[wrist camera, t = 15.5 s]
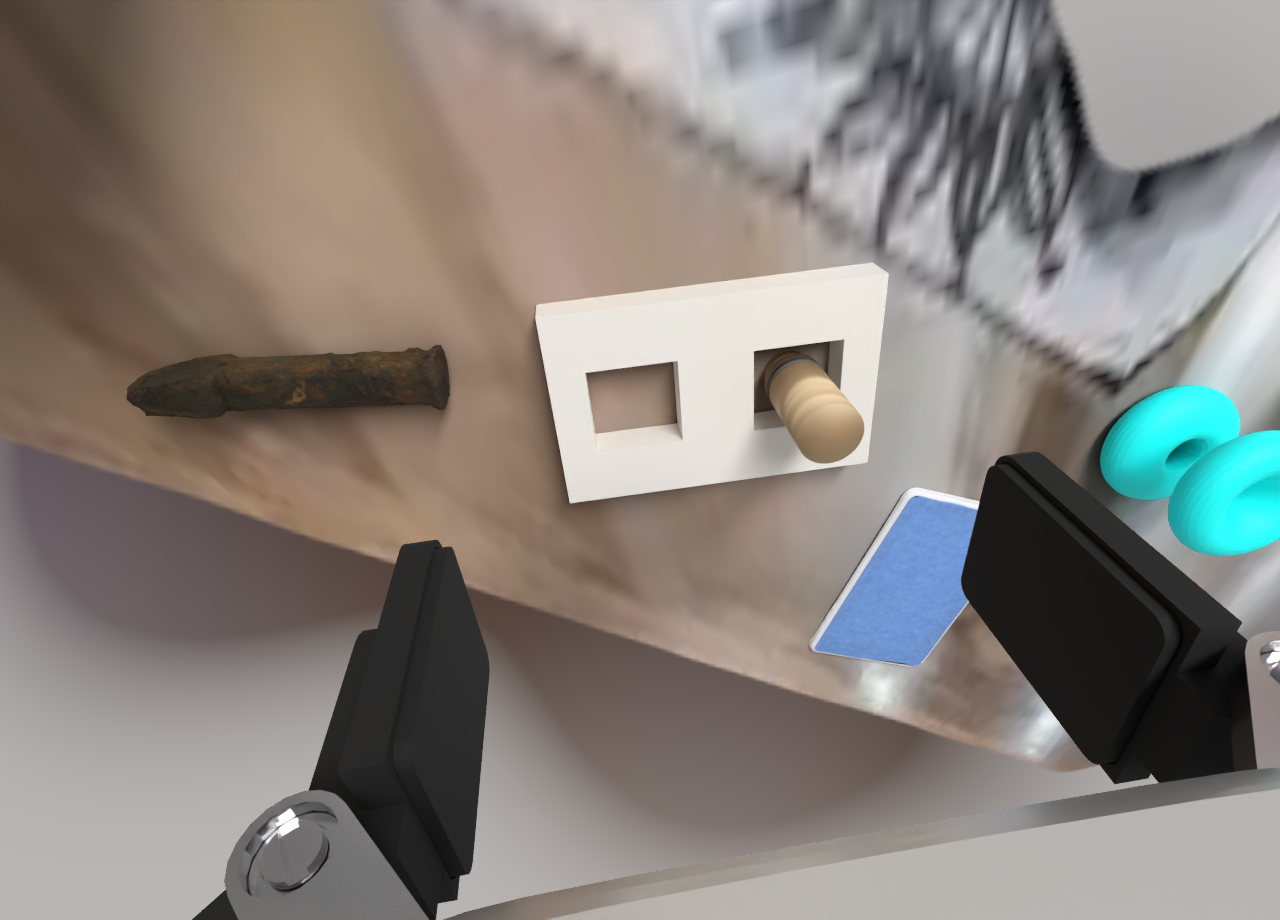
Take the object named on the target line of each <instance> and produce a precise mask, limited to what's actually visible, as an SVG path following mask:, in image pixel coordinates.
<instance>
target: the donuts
mask: <svg viewBox="0 0 1280 920" xmlns="http://www.w3.org/2000/svg"><path fill="white" fill-rule="evenodd" d="M1239 431H1240V419H1239V414H1238V411H1237V409H1236V407H1235V405H1234V404H1233V402H1232V401H1231V400H1230V399H1229V398H1228V397H1227V396H1226V395H1224V394H1223V393H1221V392H1219V391H1217V390H1215V389H1213V388H1209V387H1205V386H1199V385H1185V386H1177V387H1172V388H1169V389H1165V390H1163V391H1160V392H1157V393H1155V394H1153V395H1151V396H1149V397H1147V398H1145V399H1143V400H1142V401H1140V402H1139V403H1137V404H1136V405H1134V406H1133V407H1132V408H1130V409H1129V410H1128V411H1127V412H1126V413H1125V414H1124V415H1123V416H1122V417H1121V418H1120V419H1119V420H1118V421H1117V422H1116V423H1115V425H1114V426H1113V427H1112V429H1111V430H1110V432H1109V433H1108V435H1107V437H1106V439H1105V441H1104V444H1103V447H1102V450H1101V455H1100V466H1101V471H1102V474H1103V477H1104V478H1105V480H1106V481H1107V483H1108V484H1109V485H1110V486H1111V487H1112V488H1113V489H1114V490H1115V491H1117V492H1118V493H1120V494H1122V495H1124V496H1127V497H1130V498H1134V499H1140V500H1158V499H1164V498H1169V497H1171V498H1170V501H1169V505H1168V520H1169V524H1170V527H1171V530H1172V532H1173V533H1174V535H1175V536H1176V537H1177V539H1178V540H1179V541H1180V542H1181V543H1183V544H1184V545H1185V546H1187V547H1188V548H1190V549H1192V550H1194V551H1196V552H1199V553H1202V554H1207V555H1213V556H1229V555H1238V554H1243V553H1247V552H1251V551H1254V550H1257V549H1259V548H1262V547H1264V546H1267V545H1269V544H1271V543H1273V542H1275V541H1277V540H1279V539H1280V430H1269V431H1261V432H1254V433H1250V434H1246V435H1243V436H1240V437H1238V436H1239ZM1178 445H1179V446H1178ZM1177 446H1178V447H1177ZM1176 447H1177V448H1176ZM1175 448H1176V449H1175ZM1173 449H1175V450H1174V451H1172V450H1173Z"/></svg>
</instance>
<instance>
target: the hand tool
mask: <svg viewBox="0 0 1280 920" xmlns="http://www.w3.org/2000/svg"><path fill="white" fill-rule="evenodd" d="M449 387H450V386H449V375H448V366H447V360H446V357H445V354H444V351H443V349H442V347H441V345H435V346H433V347H432V348H431V349H430V350H427V351H424V350H422V349H420V348H409V349H407V350H406V351H403V352H378V351H373V352H359V353H355V354H333V353H328V354H321V355H302V356H276V357H248V358H238V357H236V356H234V355H232V354H224V355H214V356H208V357H201V358H195V359H192V360H189V361H184V362H180V363H177V364H173V365H169V366H166V367H163V368H160V369H157V370H154V371H150V372H148V373H146V374H145V375H143V376H141V377H140V378H138V379H137V380H136V381H135V382H134V383H132V384H131V385H130V386H129V387H128V389H127V391H128V392H127V400H128V401H129V402H130V403H131V404H132V405H134V406H136V407H138V408H140V409H141V410H143V411H144V412H145V413H146V416H171V417H172V416H179V417H190V418H215V417H220V416H222V415H223V414H224V413H225V412H226V411H235V410H236V411H243V410H254V409H267V408H278V409H292V408H338V407H363V406H386V405H406V404H424V405H431V406H433V407H435V408H437V409H439V410H443V409H445V407H446V404H447V400H448V397H449V395H450V394H449Z"/></svg>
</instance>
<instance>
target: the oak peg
mask: <svg viewBox="0 0 1280 920" xmlns="http://www.w3.org/2000/svg"><path fill="white" fill-rule="evenodd" d="M764 378H765V382H764V388H765V392H766V395H767V397H768V399H769V401H770V403H771V405H772V406H773V407H774V409H775V410H776V411H777V413H778V415H779V416H780V418H781V420H782V421H783V423H784V425H785V426H786V428H787V430H788V431H789V433H790V435H791V436H792V438H793V440H794V441H795V443H796V444H797V446H798V448H799V449H800V451H801V453H802V454H803V455H804V456H805V457H806V458H807V459H808V460H810V461H812V462H815V463H820V464H827V463H833V462H837V461H839V460H842V459H844V458H845V457H847V456H848V455H850V454H851V453H852V452H853V451H854V450H855V449H856V448H857V447H858V445H859V444H860V442H861V440H862V438H863V435H864V422H863V419H862V417H861V415H860V414H859V413H858V411H857V410H856V409H855V408H854V407H853V405H852V404H851V403H850V402H849V401H848V399H847V398H846V397H845V396H844V394H843V393H842V392H841V391H840V390H839V388H838V387H837V386H836V385H835V384H834V382H833V381H832V380H831V379H830V378H829V376H828V375H827V374H826V372H825V371H824V369H823V368H822V367H821V366H820V365H819V364H818V363H817V362H816V361H815V360H814V359H813V358H811V357H809V356H807V355H804V354H800V353H799V352H796V351H784V352H781V353H779V354H777V355H775V356H774V357H773V358H772V359H771V360H770V361H769V362H768V364H767V366H766V368H765V372H764Z"/></svg>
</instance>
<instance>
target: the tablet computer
mask: <svg viewBox="0 0 1280 920" xmlns="http://www.w3.org/2000/svg"><path fill="white" fill-rule="evenodd" d="M979 503H980V502H979V501H975V500H971V499H966V498H962V497H958V496H953V495H949V494H944V493H940V492H936V491H931V490H927V489H922V488H911V489H909V490H907V491H906V492H905V493H904V494H903V495H902V497H901V498H900V500H899V502H898V503H897V505H896V507H895V508H894V510H893V512H892V513H891V515H890V516H889V518H888V520H887V521H886V523H885V525H884V526H883V528H882V529H881V531H880V533H879V534H878V536H877V537H876V539H875V541H874V542H873V544H872V545H871V547H870V548H869V550H868V551H867V553H866V555H865V556H864V558H863V559H862V561H861V563H860V564H859V566H858V567H857V569H856V570H855V572H854V574H853V575H852V577H851V578H850V580H849V581H848V583H847V585H846V586H845V588H844V589H843V591H842V592H841V594H840V596H839V597H838V599H837V600H836V602H835V603H834V605H833V606H832V608H831V610H830V611H829V612H828V614H827V615H826V617H825V619H824V620H823V622H822V623H821V625H820V626H819V628H818V629H817V631H816V633H815V634H814V636H813V637H812V639H811V640H810V642H809V647H810V648H811V649H812V650H813V651H814V652H819V653H825V654H832V655H838V656H844V657H850V658H856V659H863V660H869V661H875V662H882V663H888V664H894V665H900V666H907V667H916V666H918V665H920V664H922V663H923V661H924V660H925V659H926V657H927V656H928V655H929V653H930V652H931V651H932V650H933V648H934V647H935V646H936V644H937V643H938V642H939V640H940V639H941V638H942V636H943V635H944V634H945V632H946V631H947V630H948V628H949V627H950V626H951V625H952V623H953V622H954V621H955V619H956V618H957V617H958V615H959V614H960V613H961V611H962V610H963V609H964V607H965V606H966V605H967V604H968V602H969V601H968V600H967V598H966V597H965V595H964V593H963V590H962V586H961V575H962V571H963V567H964V563H965V559H966V555H967V551H968V547H969V543H970V539H971V535H972V531H973V527H974V523H975V519H976V515H977V511H978V507H979Z"/></svg>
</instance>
